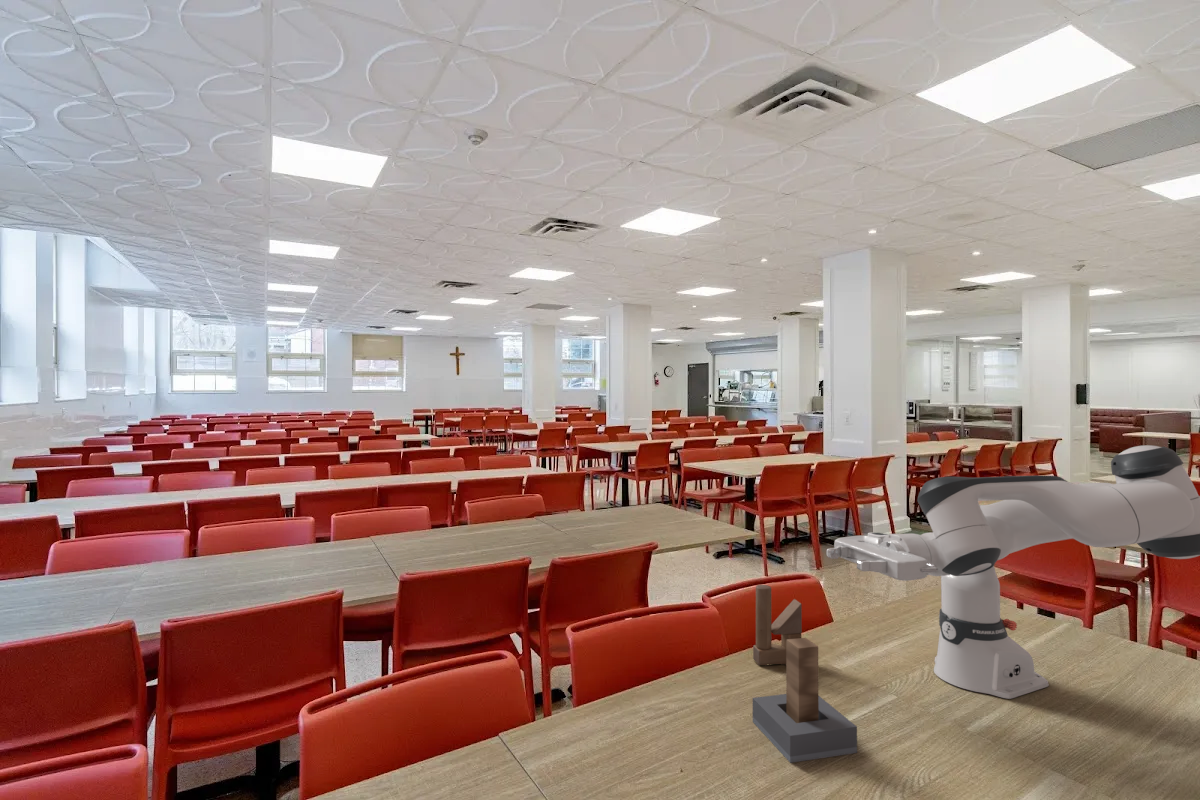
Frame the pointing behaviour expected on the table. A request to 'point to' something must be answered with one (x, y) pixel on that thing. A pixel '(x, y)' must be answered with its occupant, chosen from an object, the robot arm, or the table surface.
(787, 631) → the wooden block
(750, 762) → the table surface
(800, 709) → the brown rectangular bar
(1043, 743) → the table surface
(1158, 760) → the table surface
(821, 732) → the grey socket base
